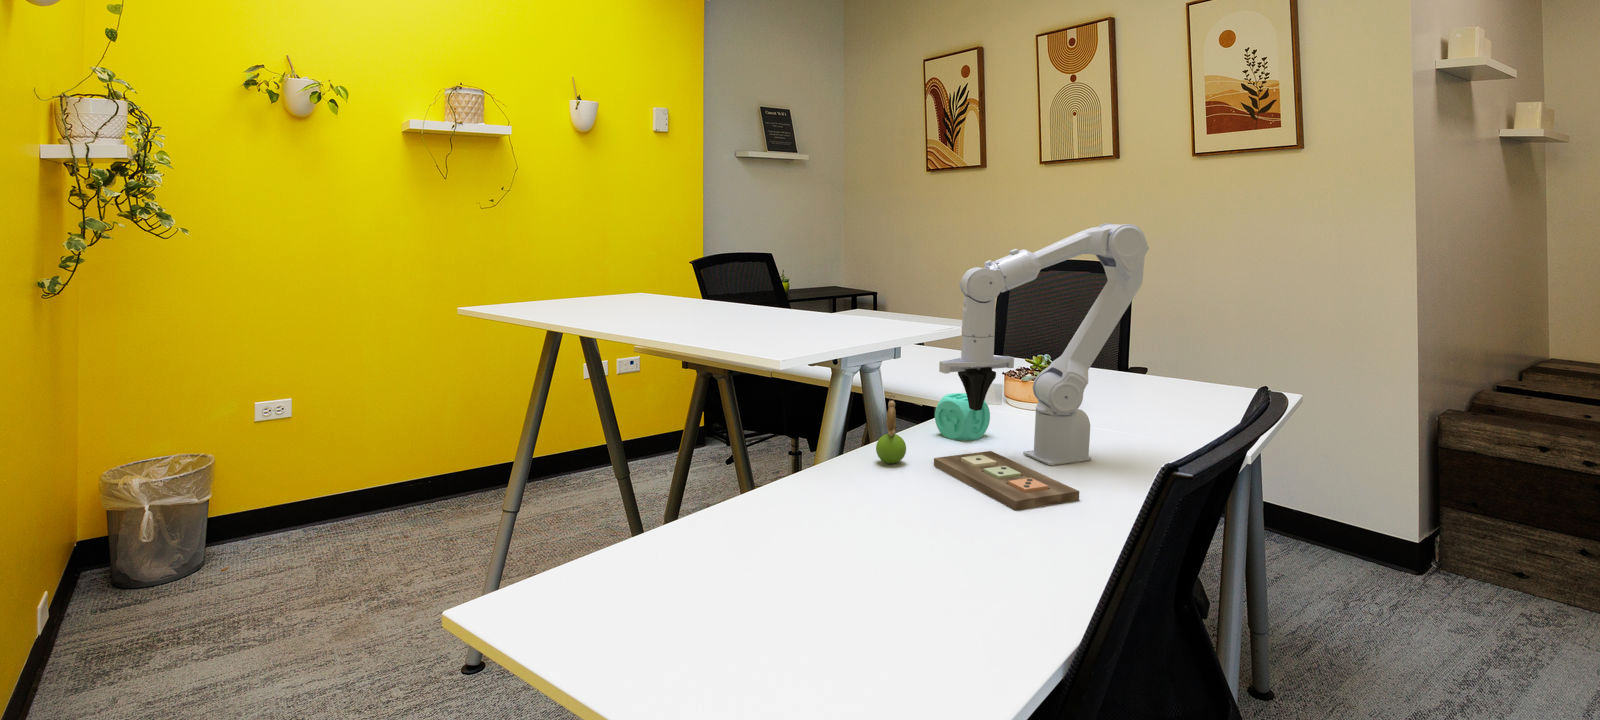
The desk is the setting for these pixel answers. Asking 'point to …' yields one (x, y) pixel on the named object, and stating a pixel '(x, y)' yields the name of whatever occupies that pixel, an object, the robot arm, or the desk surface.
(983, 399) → the robot arm
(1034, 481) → the terracotta button
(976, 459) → the cream button
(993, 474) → the sage button
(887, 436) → the green wooden maraca
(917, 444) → the desk surface
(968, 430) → the decorative dice
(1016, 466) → the button board
